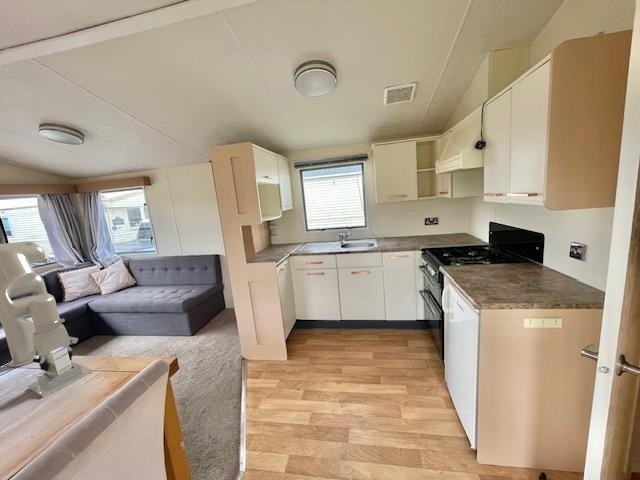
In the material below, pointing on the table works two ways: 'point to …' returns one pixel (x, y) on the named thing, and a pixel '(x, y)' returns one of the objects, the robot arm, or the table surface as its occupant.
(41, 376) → the square socket
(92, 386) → the table surface
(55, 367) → the syrup box
